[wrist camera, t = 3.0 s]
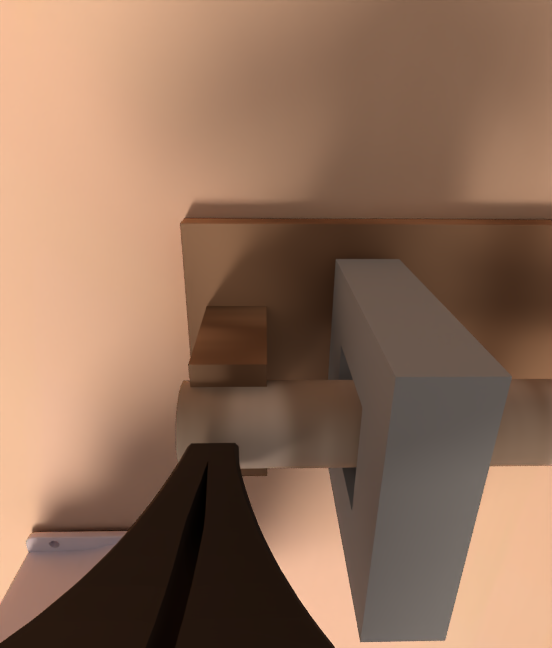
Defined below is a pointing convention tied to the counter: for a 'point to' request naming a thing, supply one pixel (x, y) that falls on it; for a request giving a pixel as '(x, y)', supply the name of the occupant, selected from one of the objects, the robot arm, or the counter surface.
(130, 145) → the counter surface
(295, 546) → the counter surface
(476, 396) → the collar
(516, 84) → the counter surface
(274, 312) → the pipe stand
